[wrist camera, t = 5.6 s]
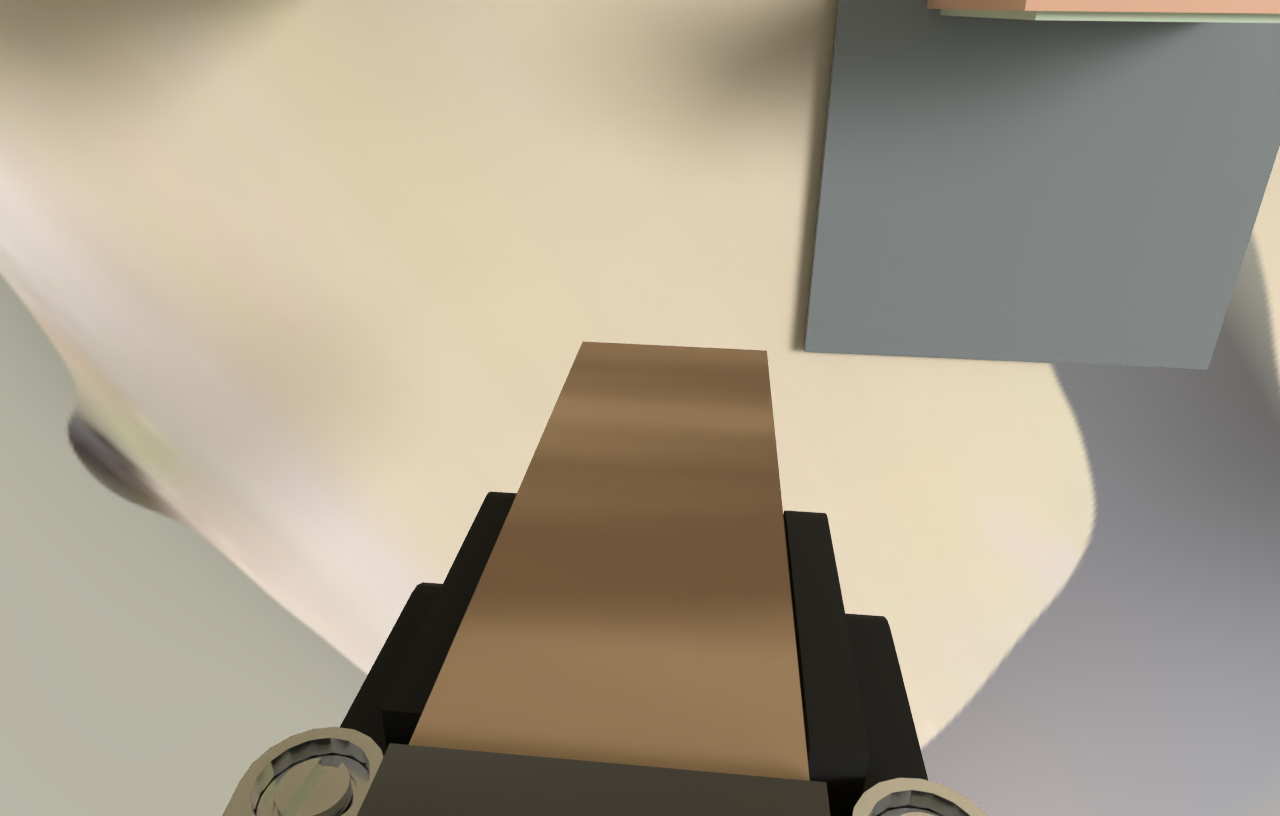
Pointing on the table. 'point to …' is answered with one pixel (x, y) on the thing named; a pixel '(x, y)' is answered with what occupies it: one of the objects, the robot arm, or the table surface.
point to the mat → (1038, 185)
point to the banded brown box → (627, 615)
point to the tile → (1116, 10)
